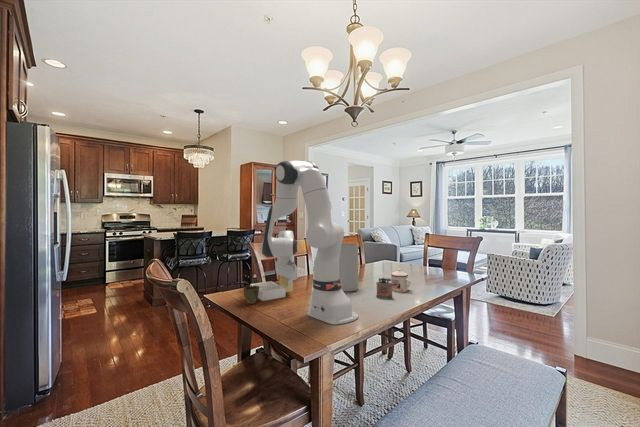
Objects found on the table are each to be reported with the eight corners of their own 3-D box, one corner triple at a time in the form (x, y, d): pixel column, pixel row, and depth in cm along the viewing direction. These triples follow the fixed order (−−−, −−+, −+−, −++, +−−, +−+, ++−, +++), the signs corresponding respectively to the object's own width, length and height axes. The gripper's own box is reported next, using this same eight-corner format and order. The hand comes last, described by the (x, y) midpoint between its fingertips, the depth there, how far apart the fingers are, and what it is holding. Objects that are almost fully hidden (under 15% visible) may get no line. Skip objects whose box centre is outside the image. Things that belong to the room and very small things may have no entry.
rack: (285, 297, 148) (285, 288, 147) (261, 301, 141) (261, 292, 141) (271, 289, 163) (271, 281, 162) (249, 292, 156) (249, 284, 156)
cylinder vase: (346, 285, 171) (346, 243, 171) (362, 289, 162) (362, 244, 162) (331, 288, 163) (331, 244, 163) (347, 293, 154) (347, 246, 153)
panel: (293, 291, 158) (293, 276, 158) (281, 293, 155) (281, 278, 155) (291, 290, 161) (291, 275, 160) (279, 292, 157) (279, 277, 157)
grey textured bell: (255, 306, 133) (255, 289, 133) (240, 305, 134) (240, 288, 134) (261, 301, 140) (261, 285, 140) (247, 300, 142) (247, 284, 142)
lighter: (375, 297, 146) (375, 277, 146) (377, 295, 149) (377, 276, 149) (392, 299, 143) (391, 279, 143) (392, 297, 146) (392, 277, 146)
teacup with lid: (387, 289, 161) (387, 268, 161) (398, 287, 166) (398, 266, 166) (404, 294, 151) (404, 272, 151) (415, 292, 156) (415, 270, 156)
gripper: (300, 261, 150) (300, 288, 150) (283, 256, 168) (283, 280, 168) (289, 263, 147) (289, 290, 147) (273, 257, 164) (273, 281, 164)
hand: (286, 284), depth 158 cm, fingers open, 5 cm apart
